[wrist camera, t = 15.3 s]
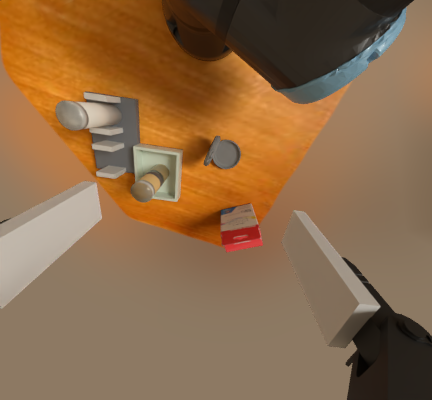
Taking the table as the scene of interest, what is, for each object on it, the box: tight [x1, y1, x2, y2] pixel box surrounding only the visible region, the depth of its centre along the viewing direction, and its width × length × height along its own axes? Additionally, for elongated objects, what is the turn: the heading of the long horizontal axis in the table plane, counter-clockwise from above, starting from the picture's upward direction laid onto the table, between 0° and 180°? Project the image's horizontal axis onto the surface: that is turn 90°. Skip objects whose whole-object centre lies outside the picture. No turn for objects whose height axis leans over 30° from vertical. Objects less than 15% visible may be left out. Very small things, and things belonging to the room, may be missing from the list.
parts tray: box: [133, 143, 183, 202], centre depth 44 cm, size 12×10×4 cm
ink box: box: [221, 204, 263, 252], centre depth 44 cm, size 8×5×15 cm, turn 105°
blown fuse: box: [131, 164, 169, 202], centre depth 40 cm, size 4×4×12 cm
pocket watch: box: [204, 136, 241, 169], centre depth 38 cm, size 8×8×10 cm
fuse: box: [56, 101, 122, 130], centre depth 33 cm, size 4×4×12 cm
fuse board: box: [84, 92, 140, 179], centre depth 39 cm, size 16×10×6 cm, turn 172°
